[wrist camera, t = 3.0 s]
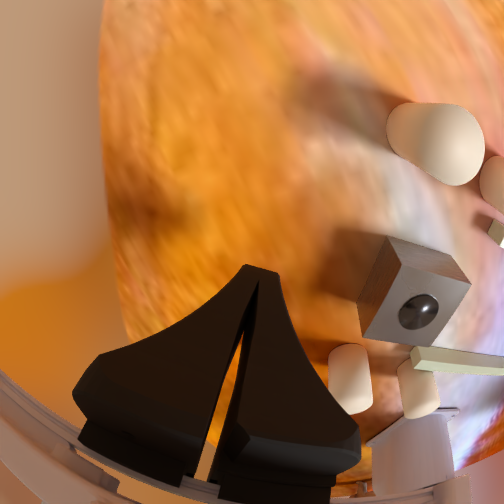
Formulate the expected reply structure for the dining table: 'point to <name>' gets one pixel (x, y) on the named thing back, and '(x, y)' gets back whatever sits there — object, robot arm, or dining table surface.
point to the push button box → (410, 294)
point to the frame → (461, 360)
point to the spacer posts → (447, 171)
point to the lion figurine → (362, 491)
